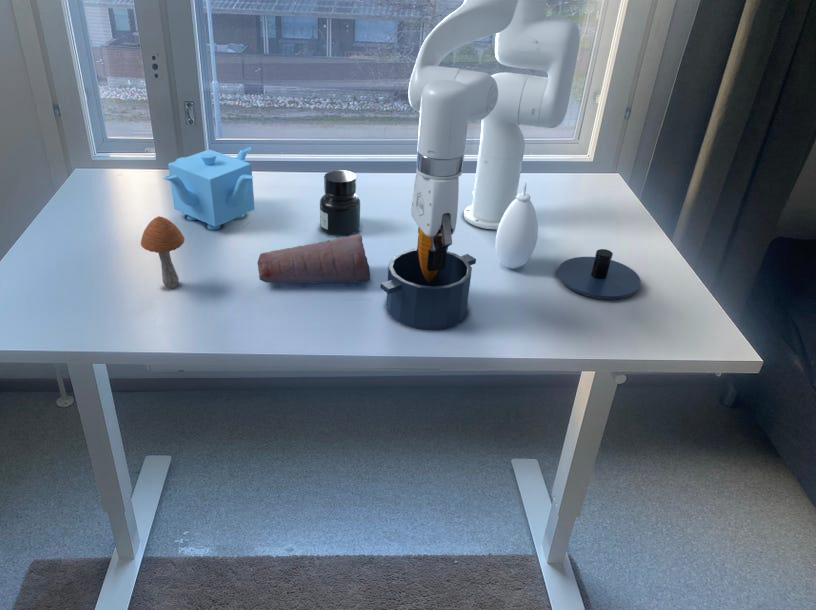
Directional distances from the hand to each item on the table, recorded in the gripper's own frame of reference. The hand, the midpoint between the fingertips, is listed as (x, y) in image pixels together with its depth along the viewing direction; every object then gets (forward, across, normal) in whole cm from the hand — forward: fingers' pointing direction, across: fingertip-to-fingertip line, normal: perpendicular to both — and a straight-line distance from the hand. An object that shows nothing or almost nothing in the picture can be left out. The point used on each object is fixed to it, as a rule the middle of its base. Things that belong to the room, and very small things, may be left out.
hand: (430, 261), depth 124 cm
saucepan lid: (+9, -2, +36) cm, 37 cm away
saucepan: (+10, 0, 0) cm, 10 cm away
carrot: (+4, 0, 0) cm, 4 cm away
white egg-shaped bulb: (+10, -11, +22) cm, 26 cm away
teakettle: (+10, -47, -34) cm, 59 cm away
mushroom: (+10, -18, -46) cm, 50 cm away
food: (+10, -16, -18) cm, 26 cm away
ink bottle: (+10, -36, -8) cm, 38 cm away
